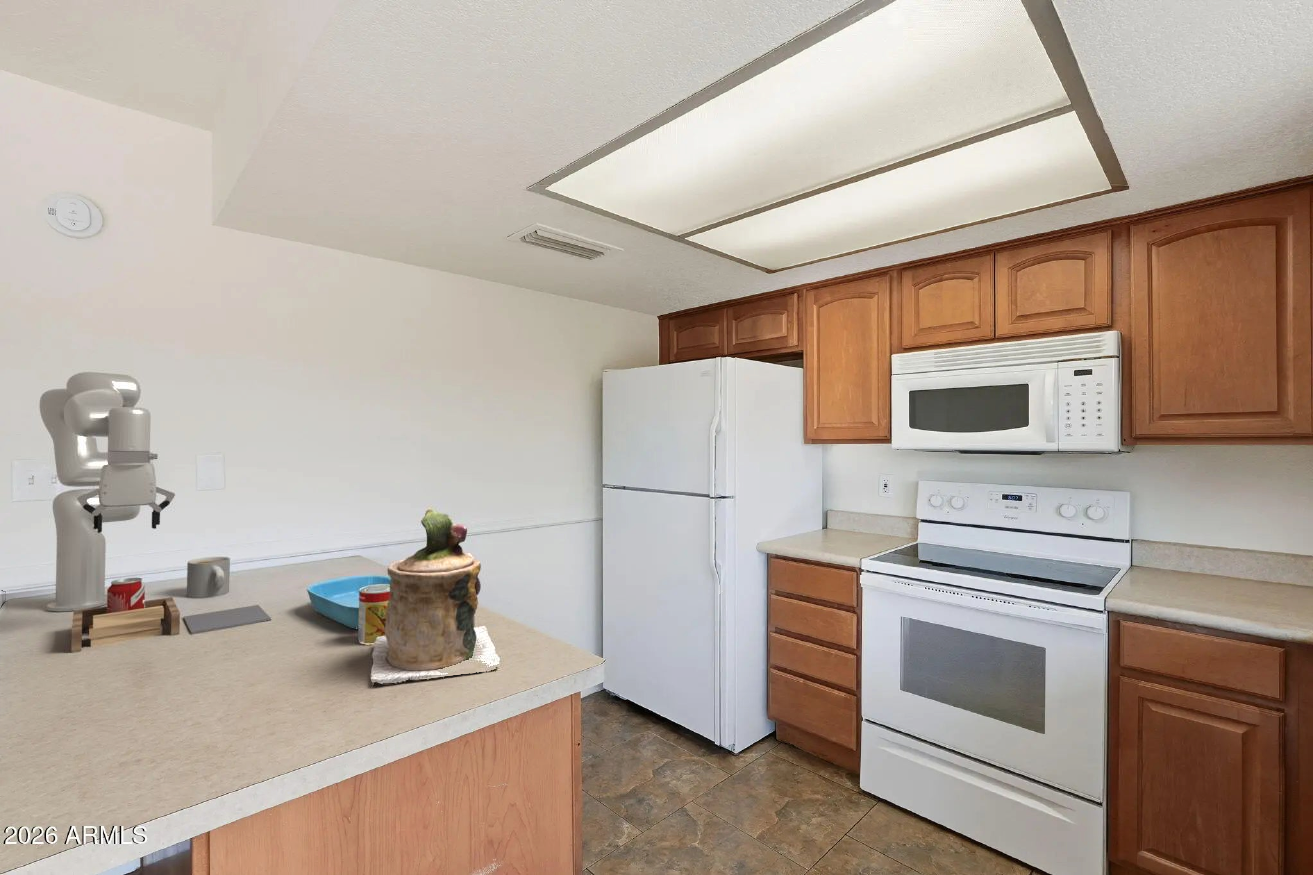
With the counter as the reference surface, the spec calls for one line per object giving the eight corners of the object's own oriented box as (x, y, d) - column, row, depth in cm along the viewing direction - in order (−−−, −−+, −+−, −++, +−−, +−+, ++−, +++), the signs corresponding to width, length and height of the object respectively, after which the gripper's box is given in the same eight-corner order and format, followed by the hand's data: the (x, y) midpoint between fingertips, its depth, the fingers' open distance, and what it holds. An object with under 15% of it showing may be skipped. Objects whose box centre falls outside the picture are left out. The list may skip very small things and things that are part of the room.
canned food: (401, 639, 136) (402, 588, 136) (366, 647, 130) (367, 594, 130) (387, 631, 141) (388, 582, 141) (352, 639, 136) (353, 587, 136)
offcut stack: (88, 642, 131) (89, 616, 131) (162, 630, 140) (162, 605, 140) (88, 648, 128) (89, 620, 128) (163, 635, 137) (164, 609, 137)
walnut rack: (73, 631, 137) (73, 610, 137) (171, 616, 150) (172, 597, 150) (71, 652, 125) (71, 629, 125) (179, 633, 137) (179, 612, 137)
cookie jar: (367, 690, 109) (370, 520, 109) (373, 646, 131) (376, 505, 132) (502, 671, 119) (505, 515, 119) (486, 633, 141) (488, 502, 141)
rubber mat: (183, 618, 149) (183, 616, 149) (258, 606, 160) (258, 604, 160) (191, 634, 137) (191, 632, 137) (271, 620, 148) (271, 618, 148)
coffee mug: (184, 593, 172) (185, 559, 172) (225, 587, 179) (226, 555, 179) (191, 602, 162) (192, 567, 162) (234, 596, 169) (235, 562, 170)
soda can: (121, 636, 135) (122, 584, 135) (98, 633, 136) (99, 582, 136) (151, 627, 142) (152, 577, 142) (129, 624, 143) (130, 576, 143)
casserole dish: (444, 618, 153) (445, 591, 153) (359, 641, 135) (360, 610, 135) (374, 594, 175) (374, 570, 175) (292, 610, 157) (293, 584, 157)
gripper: (174, 457, 148) (172, 524, 148) (78, 458, 136) (76, 531, 136) (177, 458, 142) (175, 528, 142) (77, 459, 130) (76, 535, 130)
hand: (127, 530), depth 139 cm, fingers open, 9 cm apart
